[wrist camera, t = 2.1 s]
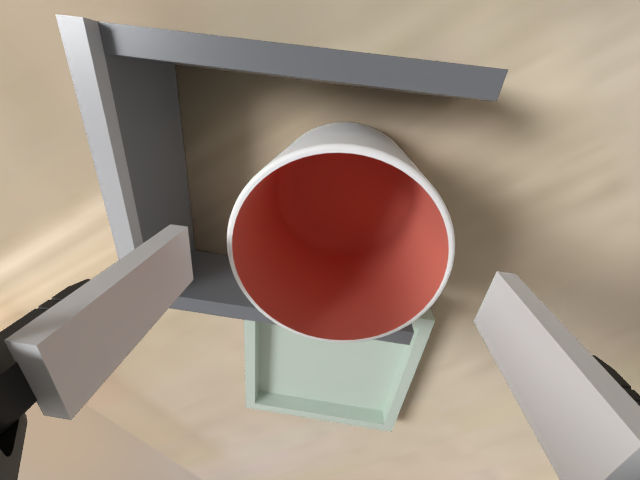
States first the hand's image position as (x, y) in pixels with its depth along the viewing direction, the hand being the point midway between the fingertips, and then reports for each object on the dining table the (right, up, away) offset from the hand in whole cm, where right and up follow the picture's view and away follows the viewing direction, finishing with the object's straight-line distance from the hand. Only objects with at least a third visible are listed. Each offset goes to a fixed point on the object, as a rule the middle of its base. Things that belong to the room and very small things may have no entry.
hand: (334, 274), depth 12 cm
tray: (0, -10, +17) cm, 20 cm away
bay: (-3, +6, +9) cm, 11 cm away
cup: (+1, +5, +9) cm, 11 cm away
